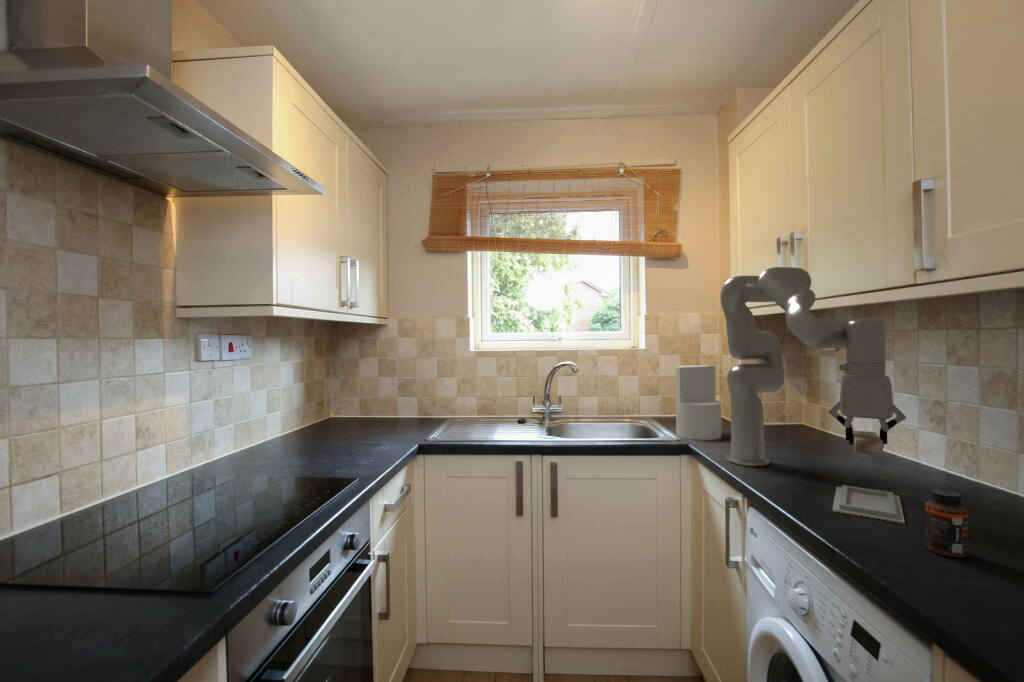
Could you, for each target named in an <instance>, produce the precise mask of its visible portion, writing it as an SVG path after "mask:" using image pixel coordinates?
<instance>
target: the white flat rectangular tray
mask: <svg viewBox="0 0 1024 682" xmlns="http://www.w3.org/2000/svg"><path fill="white" fill-rule="evenodd" d="M832 511H833V513H838V512H839V514H843V513H845V515H849V514H850V516H855V515H857V516H856V517H860V516H863V517H862V518H866V517H869V518H868V519H872V518H875V519H874V520H877V519H881V520H880V521H883V520H886V521H885V522H889V521H891V522H890V523H895V522H897V523H896V524H900V523H902V524H901V525H905V523H906V521H905V518H904V517H905V516H904V513H903V512H904V511H903V508H902V503H901V497H900V495H894V492H891V491H885V490H880V489H879V490H878V489H872V488H865V487H864V488H863V487H858V486H852V485H851V486H850V485H846V484H845V485H844V484H842V485H841V486H836V487H835V494H834V498H833V505H832Z"/></svg>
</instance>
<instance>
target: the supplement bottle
mask: <svg viewBox="0 0 1024 682" xmlns="http://www.w3.org/2000/svg"><path fill="white" fill-rule="evenodd" d="M931 497H932V499H930V500H927V501H926V503H925V546H926V548H928V550H929V551H931V552H933V553H935V554H938V555H941V556H945V557H949V558H958V559H959V558H960V559H961V558H962V559H963V558H966V557H967V556H968V554H969V511H968V509H967V508H966V506H964V505H963V504H962V496H961V494H960V493H959V492H956V491H953V490H952V491H951V490H946V489H932V494H931Z"/></svg>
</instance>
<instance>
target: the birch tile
mask: <svg viewBox="0 0 1024 682" xmlns="http://www.w3.org/2000/svg"><path fill="white" fill-rule="evenodd" d="M851 446H852V447H853V449H854V451H855V453H858V454H867V455H869V454H870V455H877V456H879V455H880V456H883V455H884V448H883V441H882V440H881V439H880V435H878V433H876V432H875V431H864V430H863V431H861V430H853V444H852V445H851Z"/></svg>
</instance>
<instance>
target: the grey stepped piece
mask: <svg viewBox="0 0 1024 682" xmlns="http://www.w3.org/2000/svg"><path fill="white" fill-rule="evenodd" d="M716 389H717V388H716V365H699V364H697V365H676V366H675V433H676V434H675V435H676V436H678V437H680V438H683V439H689V440H697V441H698V440H699V441H713V440H719V439H721V438H722V402H721V401H720V400H717V398H716V393H717V392H716Z"/></svg>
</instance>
